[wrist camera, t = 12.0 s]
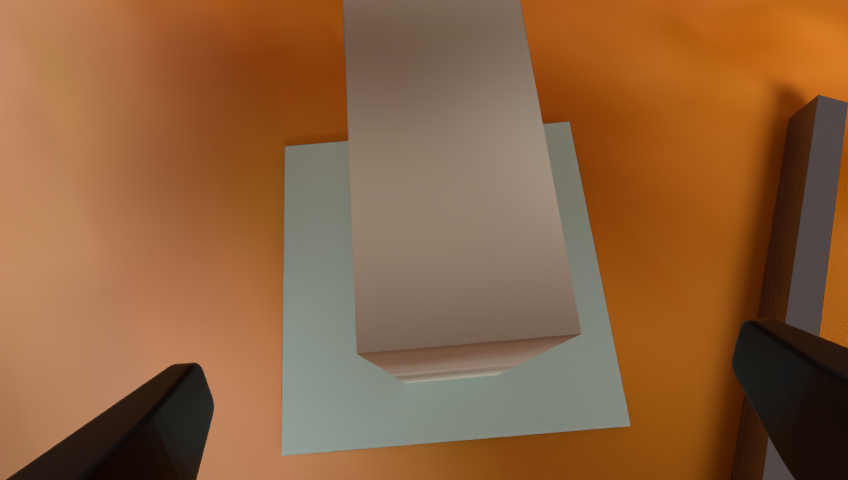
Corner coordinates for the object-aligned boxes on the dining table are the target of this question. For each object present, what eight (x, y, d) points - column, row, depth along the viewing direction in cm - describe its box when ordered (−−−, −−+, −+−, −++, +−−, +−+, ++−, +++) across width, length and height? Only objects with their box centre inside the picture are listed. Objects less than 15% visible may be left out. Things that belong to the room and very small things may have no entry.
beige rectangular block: (497, 375, 16) (582, 333, 7) (405, 383, 16) (356, 353, 7) (473, 180, 18) (508, -61, 9) (392, 188, 18) (340, -47, 9)
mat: (626, 425, 16) (630, 426, 15) (285, 454, 16) (281, 455, 15) (566, 127, 19) (569, 121, 19) (287, 151, 19) (284, 146, 19)
